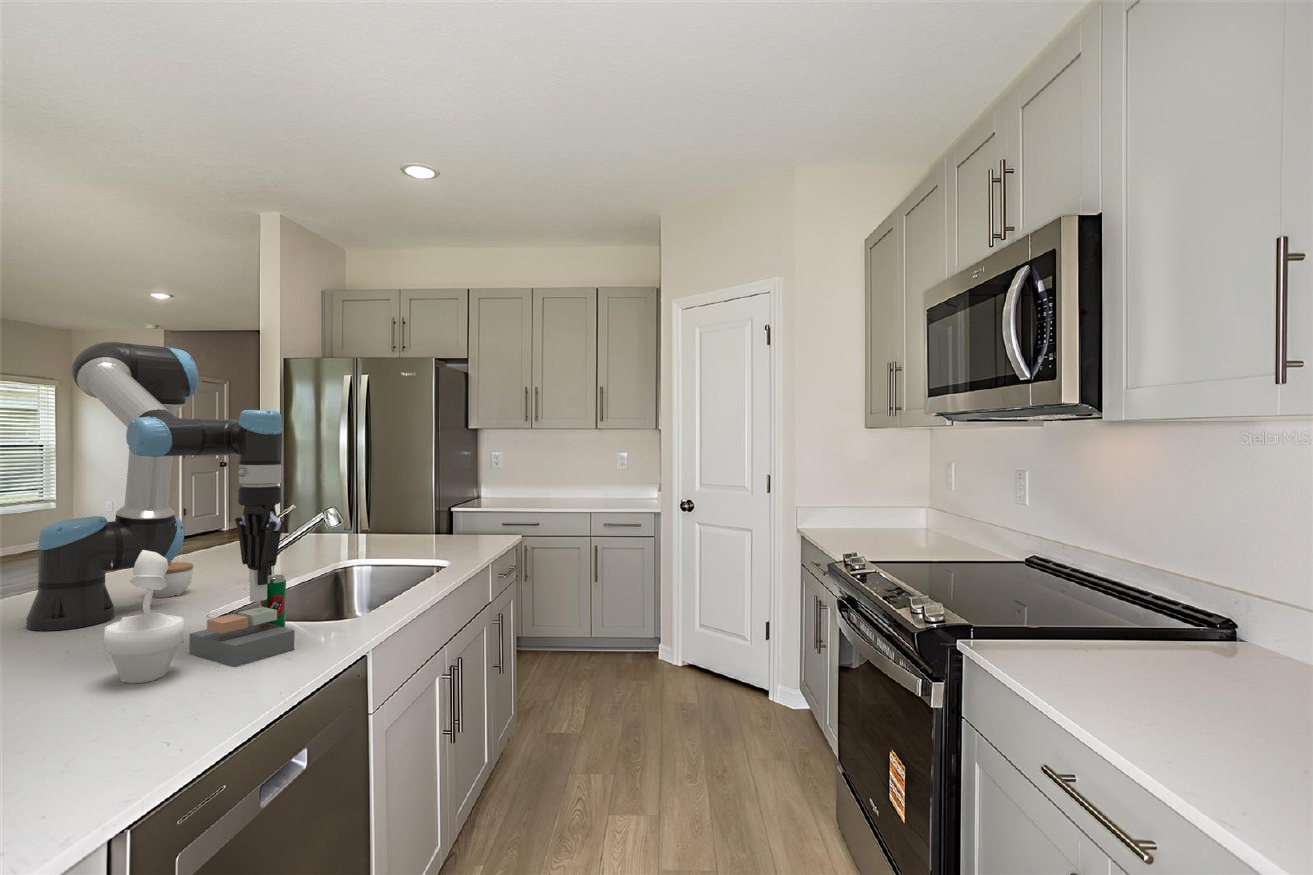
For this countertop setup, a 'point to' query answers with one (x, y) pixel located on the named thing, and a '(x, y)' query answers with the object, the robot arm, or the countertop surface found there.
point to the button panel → (242, 644)
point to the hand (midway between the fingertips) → (258, 600)
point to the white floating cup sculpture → (145, 628)
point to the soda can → (276, 598)
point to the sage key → (259, 615)
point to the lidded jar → (176, 579)
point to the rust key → (227, 623)
